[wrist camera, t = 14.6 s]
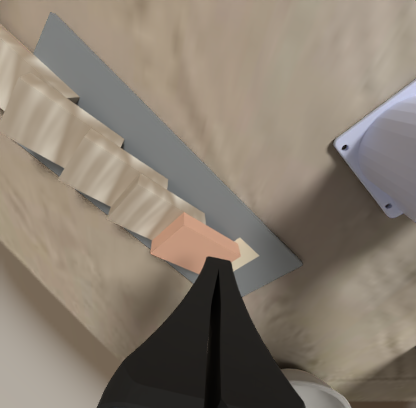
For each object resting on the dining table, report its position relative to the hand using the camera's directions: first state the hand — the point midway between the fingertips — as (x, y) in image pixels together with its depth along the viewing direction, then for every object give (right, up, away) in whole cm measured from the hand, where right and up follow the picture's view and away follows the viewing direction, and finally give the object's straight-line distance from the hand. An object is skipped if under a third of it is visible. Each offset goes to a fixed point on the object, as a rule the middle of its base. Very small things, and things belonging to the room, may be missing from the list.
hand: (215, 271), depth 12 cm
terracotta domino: (+1, -3, +12) cm, 12 cm away
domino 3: (-6, +4, +9) cm, 12 cm away
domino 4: (-2, +1, +10) cm, 11 cm away
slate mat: (-5, +4, +10) cm, 12 cm away
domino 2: (-10, +8, +8) cm, 15 cm away
